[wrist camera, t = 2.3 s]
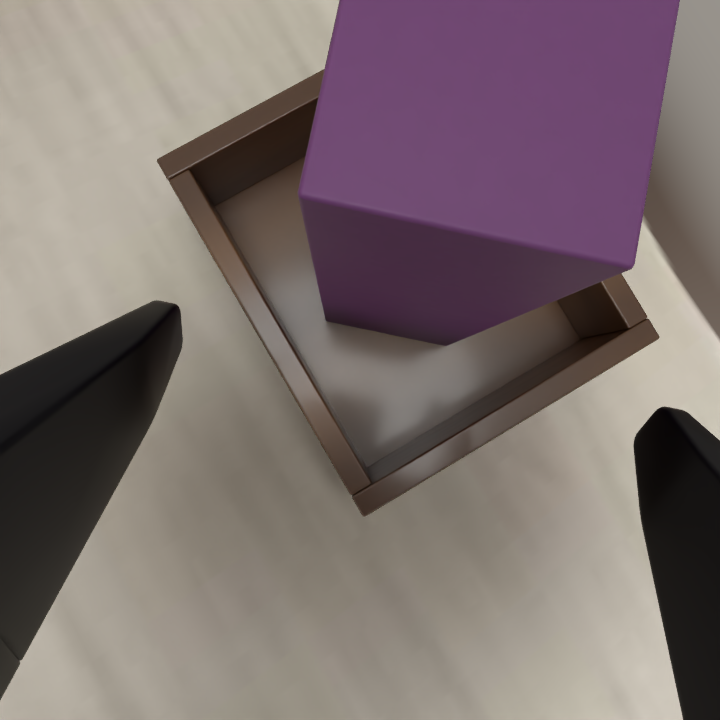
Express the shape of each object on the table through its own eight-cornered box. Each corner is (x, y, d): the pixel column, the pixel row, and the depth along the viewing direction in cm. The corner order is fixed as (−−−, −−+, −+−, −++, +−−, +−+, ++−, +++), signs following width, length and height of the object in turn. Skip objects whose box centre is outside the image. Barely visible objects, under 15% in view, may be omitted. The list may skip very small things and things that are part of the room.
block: (447, 346, 20) (635, 269, 7) (324, 320, 20) (295, 196, 7) (470, 226, 21) (691, -51, 8) (350, 200, 20) (366, -126, 8)
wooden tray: (600, 347, 21) (661, 337, 17) (359, 493, 20) (363, 518, 16) (433, 70, 21) (454, -3, 17) (191, 203, 21) (155, 158, 17)
